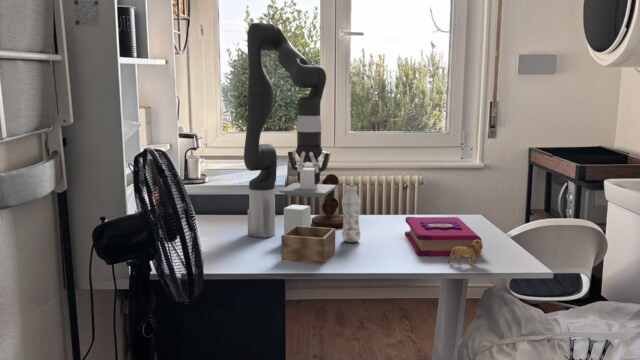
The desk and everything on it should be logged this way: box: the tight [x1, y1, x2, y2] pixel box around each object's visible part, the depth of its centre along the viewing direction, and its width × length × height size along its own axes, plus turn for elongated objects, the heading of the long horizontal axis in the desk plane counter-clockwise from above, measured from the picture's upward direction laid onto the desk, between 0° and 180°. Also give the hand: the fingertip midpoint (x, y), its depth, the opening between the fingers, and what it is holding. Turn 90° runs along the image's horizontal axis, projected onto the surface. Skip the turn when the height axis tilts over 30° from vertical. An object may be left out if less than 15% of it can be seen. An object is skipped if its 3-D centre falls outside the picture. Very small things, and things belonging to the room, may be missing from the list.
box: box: [280, 226, 336, 265], centre depth 197 cm, size 14×14×8 cm
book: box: [404, 216, 483, 258], centre depth 212 cm, size 21×28×8 cm
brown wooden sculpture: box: [311, 173, 344, 229], centre depth 238 cm, size 15×15×20 cm
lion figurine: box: [447, 240, 484, 266], centre depth 190 cm, size 12×4×7 cm, turn 107°
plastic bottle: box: [341, 184, 362, 243], centre depth 213 cm, size 6×7×20 cm
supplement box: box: [283, 204, 312, 234], centre depth 214 cm, size 7×7×13 cm
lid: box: [279, 167, 338, 199], centre depth 193 cm, size 15×15×8 cm
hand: (309, 183), depth 194 cm, fingers closed on lid, 4 cm apart
